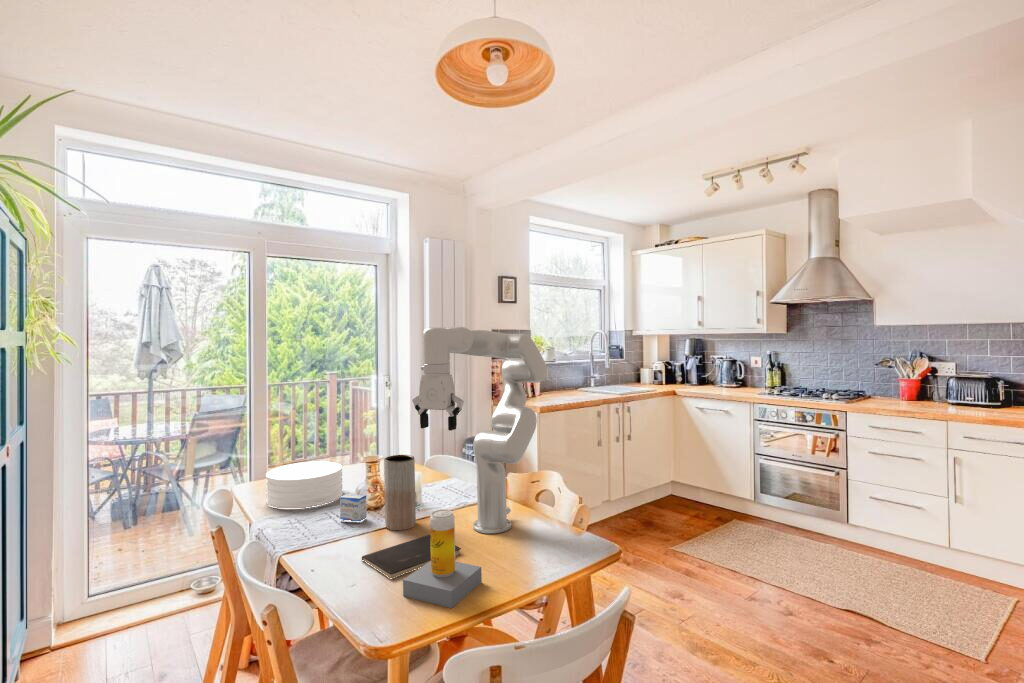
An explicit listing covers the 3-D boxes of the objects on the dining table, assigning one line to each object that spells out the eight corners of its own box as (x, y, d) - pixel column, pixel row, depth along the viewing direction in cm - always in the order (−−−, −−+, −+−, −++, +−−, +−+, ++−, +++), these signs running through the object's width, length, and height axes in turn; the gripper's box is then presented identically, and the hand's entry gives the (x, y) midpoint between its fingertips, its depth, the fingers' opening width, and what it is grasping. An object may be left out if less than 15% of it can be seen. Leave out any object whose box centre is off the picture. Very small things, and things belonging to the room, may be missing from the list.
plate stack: (266, 494, 214) (266, 466, 214) (338, 485, 226) (337, 458, 226) (266, 515, 189) (265, 483, 189) (347, 503, 200) (346, 473, 200)
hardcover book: (461, 555, 152) (461, 548, 152) (390, 582, 136) (390, 573, 136) (430, 540, 163) (429, 533, 163) (361, 563, 148) (361, 555, 148)
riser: (436, 572, 140) (435, 557, 140) (481, 582, 134) (481, 566, 134) (403, 595, 128) (402, 579, 127) (451, 608, 121) (451, 591, 121)
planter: (393, 533, 168) (392, 463, 168) (380, 525, 176) (378, 457, 176) (421, 525, 175) (419, 458, 174) (406, 518, 182) (405, 453, 182)
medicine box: (339, 522, 179) (339, 497, 179) (346, 517, 184) (346, 493, 184) (360, 524, 178) (359, 498, 177) (367, 519, 182) (366, 494, 182)
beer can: (428, 569, 133) (427, 511, 132) (452, 565, 135) (451, 507, 134) (434, 580, 127) (432, 518, 127) (458, 575, 129) (456, 515, 129)
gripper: (405, 370, 152) (406, 429, 153) (455, 371, 145) (456, 433, 145) (420, 368, 159) (421, 424, 159) (469, 369, 151) (470, 428, 152)
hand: (438, 428), depth 152 cm, fingers open, 9 cm apart
